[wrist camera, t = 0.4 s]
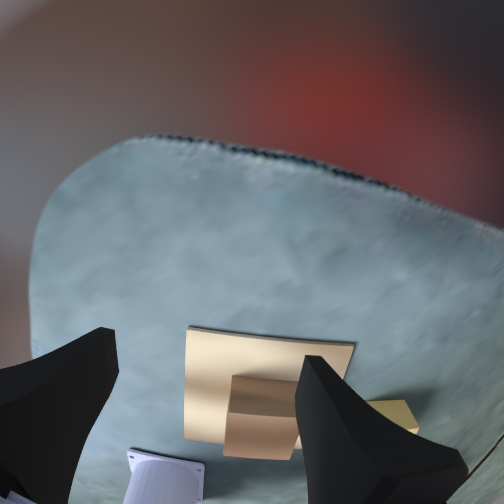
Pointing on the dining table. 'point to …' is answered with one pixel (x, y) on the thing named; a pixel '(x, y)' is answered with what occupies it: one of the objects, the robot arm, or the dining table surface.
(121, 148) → the dining table surface
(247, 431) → the walnut block
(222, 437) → the build board
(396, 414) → the ochre block
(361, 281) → the dining table surface
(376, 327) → the dining table surface
